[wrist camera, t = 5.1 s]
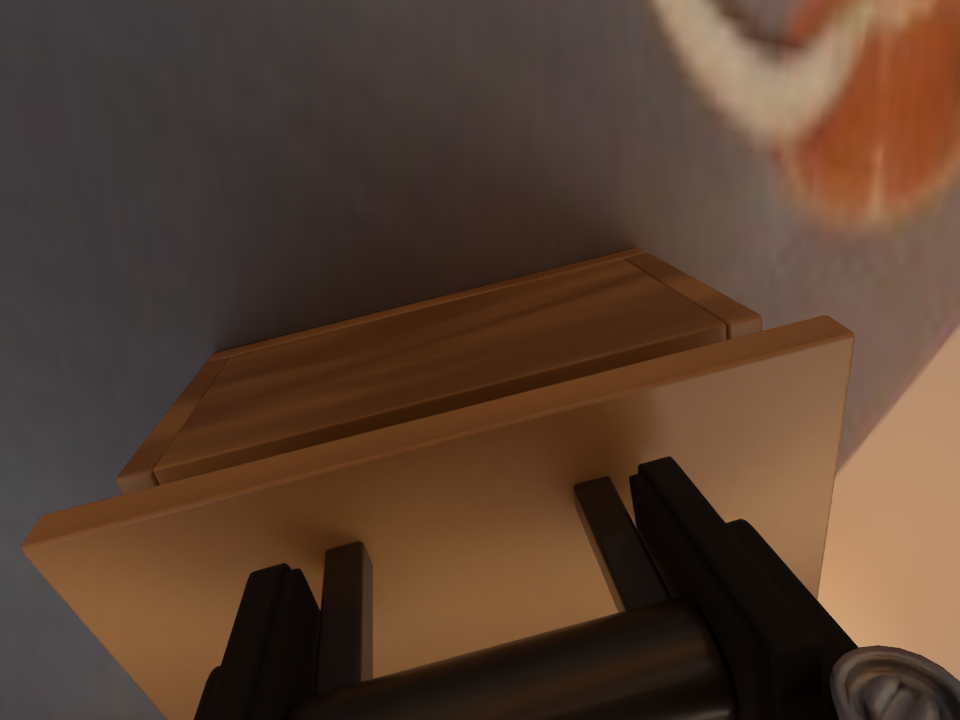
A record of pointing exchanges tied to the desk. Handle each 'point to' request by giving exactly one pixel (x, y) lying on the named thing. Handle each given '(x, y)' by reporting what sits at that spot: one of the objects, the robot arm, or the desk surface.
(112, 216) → the desk surface
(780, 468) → the lid
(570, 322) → the box
